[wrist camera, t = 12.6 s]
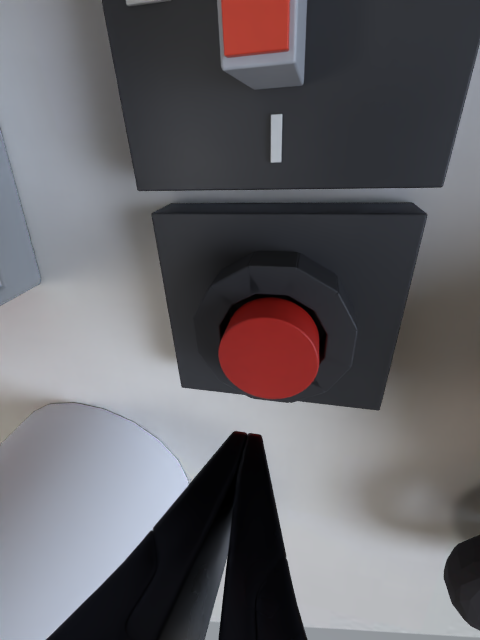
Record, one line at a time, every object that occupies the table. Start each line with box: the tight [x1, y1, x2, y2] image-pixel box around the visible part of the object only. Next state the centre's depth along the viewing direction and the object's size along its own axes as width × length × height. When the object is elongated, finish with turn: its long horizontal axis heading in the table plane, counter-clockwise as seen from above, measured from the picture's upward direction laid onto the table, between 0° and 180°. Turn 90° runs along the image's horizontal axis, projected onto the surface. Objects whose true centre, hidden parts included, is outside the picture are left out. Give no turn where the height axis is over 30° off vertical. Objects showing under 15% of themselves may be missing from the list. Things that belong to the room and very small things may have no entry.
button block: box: [152, 203, 427, 410], centre depth 16 cm, size 10×11×4 cm
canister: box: [0, 403, 188, 640], centre depth 21 cm, size 16×16×20 cm
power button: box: [218, 297, 319, 399], centre depth 13 cm, size 4×4×2 cm
